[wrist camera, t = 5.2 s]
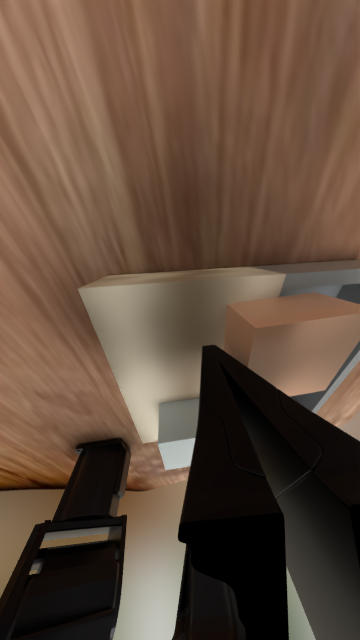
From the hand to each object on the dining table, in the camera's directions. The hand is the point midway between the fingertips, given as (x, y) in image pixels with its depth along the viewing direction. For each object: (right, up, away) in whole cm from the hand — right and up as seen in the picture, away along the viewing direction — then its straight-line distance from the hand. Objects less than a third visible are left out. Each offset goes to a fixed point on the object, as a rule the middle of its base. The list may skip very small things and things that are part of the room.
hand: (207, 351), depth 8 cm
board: (-1, -2, +6) cm, 6 cm away
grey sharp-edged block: (-1, -7, +4) cm, 8 cm away
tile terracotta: (+4, +1, +1) cm, 4 cm away
